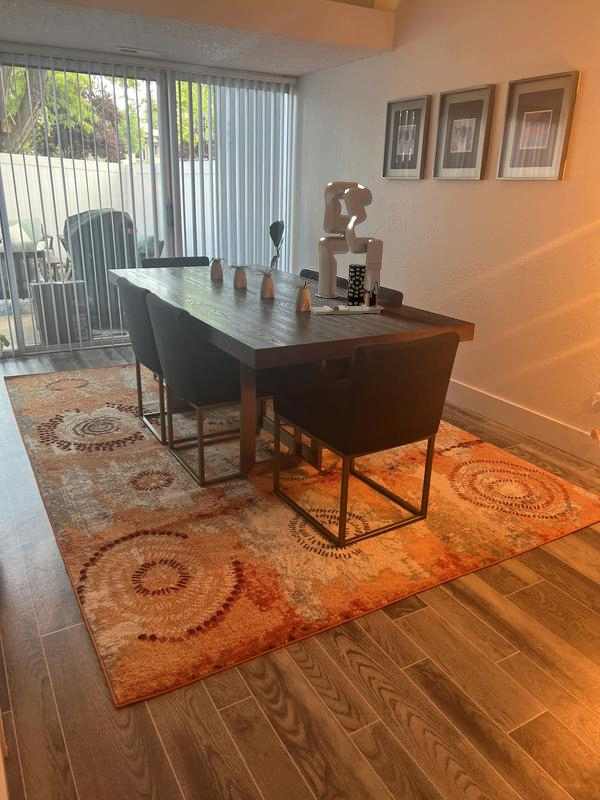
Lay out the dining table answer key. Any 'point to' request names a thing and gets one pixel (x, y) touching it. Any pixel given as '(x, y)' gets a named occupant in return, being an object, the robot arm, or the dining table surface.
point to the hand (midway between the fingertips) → (370, 304)
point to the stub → (368, 303)
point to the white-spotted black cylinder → (356, 285)
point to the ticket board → (341, 309)
